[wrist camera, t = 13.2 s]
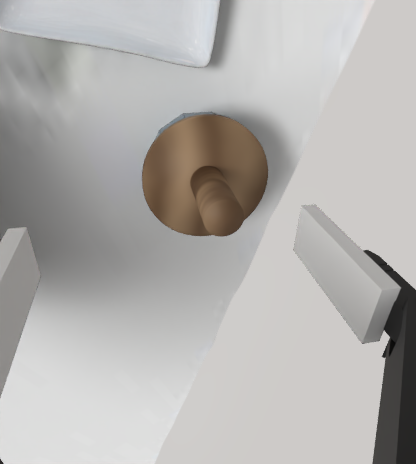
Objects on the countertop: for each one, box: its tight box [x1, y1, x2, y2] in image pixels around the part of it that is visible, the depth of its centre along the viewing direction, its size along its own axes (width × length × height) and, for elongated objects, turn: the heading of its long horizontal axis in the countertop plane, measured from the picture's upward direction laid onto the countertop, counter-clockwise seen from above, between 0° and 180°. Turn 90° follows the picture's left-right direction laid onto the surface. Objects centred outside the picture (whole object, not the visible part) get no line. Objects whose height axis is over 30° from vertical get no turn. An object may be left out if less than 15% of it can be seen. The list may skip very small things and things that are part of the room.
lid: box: [142, 114, 268, 236], centre depth 37 cm, size 15×15×10 cm
